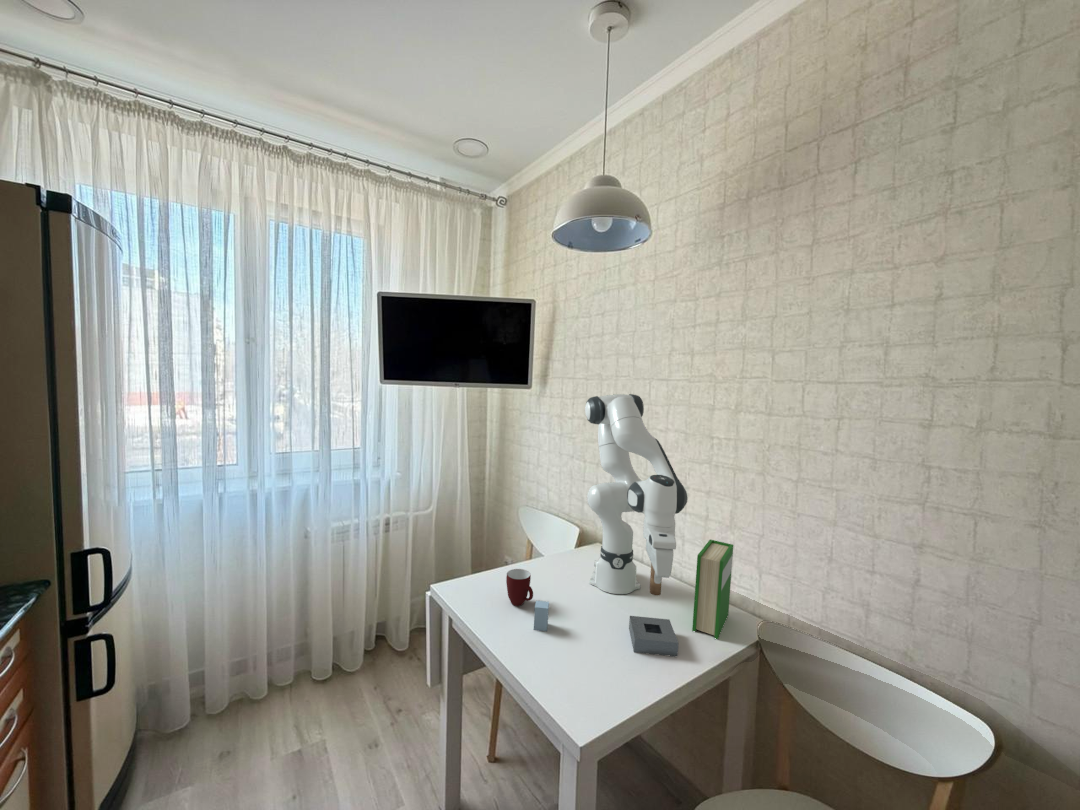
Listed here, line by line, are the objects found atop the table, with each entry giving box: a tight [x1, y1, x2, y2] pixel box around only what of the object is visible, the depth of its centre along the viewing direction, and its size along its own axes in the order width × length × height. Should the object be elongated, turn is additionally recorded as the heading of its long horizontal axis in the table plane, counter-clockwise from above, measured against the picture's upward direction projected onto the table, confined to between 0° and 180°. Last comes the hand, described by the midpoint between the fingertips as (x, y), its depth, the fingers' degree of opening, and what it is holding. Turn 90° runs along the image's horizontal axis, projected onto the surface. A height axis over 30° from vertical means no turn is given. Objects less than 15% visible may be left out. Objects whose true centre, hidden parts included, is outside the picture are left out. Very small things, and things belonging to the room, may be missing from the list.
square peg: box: [533, 600, 550, 632], centre depth 131 cm, size 4×4×7 cm
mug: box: [505, 568, 534, 607], centre depth 143 cm, size 10×8×10 cm
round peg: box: [649, 562, 663, 596], centre depth 125 cm, size 3×3×9 cm
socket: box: [628, 615, 679, 657], centre depth 126 cm, size 12×12×4 cm
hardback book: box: [691, 539, 734, 640], centre depth 137 cm, size 18×7×24 cm, turn 147°
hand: (655, 579), depth 125 cm, fingers closed on round peg, 3 cm apart
